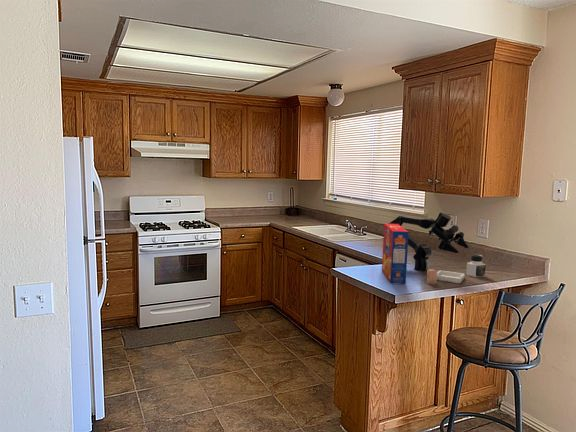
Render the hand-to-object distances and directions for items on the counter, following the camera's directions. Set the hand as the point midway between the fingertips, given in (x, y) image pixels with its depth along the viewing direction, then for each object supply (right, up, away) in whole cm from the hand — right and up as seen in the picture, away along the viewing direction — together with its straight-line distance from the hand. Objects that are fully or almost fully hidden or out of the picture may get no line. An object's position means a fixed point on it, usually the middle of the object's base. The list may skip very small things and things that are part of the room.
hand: (463, 250), depth 244 cm
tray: (-8, -16, +1) cm, 18 cm away
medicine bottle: (+11, -15, +10) cm, 21 cm away
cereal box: (-38, -15, +2) cm, 41 cm away
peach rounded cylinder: (-20, -17, -9) cm, 28 cm away
